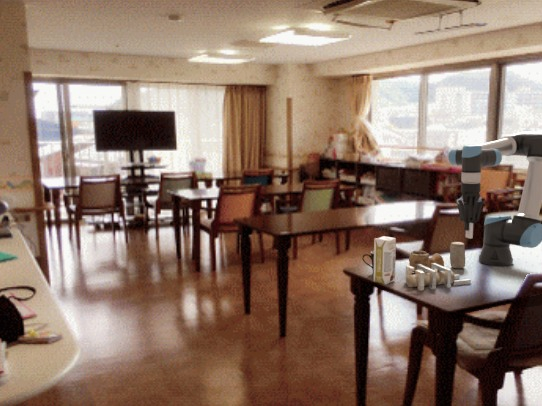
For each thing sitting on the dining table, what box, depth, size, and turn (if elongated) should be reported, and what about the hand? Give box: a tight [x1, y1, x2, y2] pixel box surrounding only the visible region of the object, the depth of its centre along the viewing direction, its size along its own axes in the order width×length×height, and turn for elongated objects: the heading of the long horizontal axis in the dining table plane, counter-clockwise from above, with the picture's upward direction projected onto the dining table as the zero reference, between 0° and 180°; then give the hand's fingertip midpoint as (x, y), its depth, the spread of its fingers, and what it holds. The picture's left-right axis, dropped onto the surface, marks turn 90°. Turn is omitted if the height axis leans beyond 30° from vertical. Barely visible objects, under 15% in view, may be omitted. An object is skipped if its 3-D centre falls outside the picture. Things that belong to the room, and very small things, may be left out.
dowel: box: [405, 270, 456, 288], centre depth 205 cm, size 20×5×5 cm, turn 105°
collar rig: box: [404, 263, 472, 291], centre depth 206 cm, size 25×12×7 cm, turn 106°
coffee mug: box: [362, 250, 374, 275], centre depth 223 cm, size 12×9×10 cm
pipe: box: [408, 250, 445, 273], centre depth 223 cm, size 9×16×10 cm, turn 109°
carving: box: [449, 241, 466, 269], centre depth 230 cm, size 6×8×12 cm
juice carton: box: [373, 235, 397, 285], centre depth 210 cm, size 8×9×19 cm
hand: (469, 237), depth 208 cm, fingers closed
